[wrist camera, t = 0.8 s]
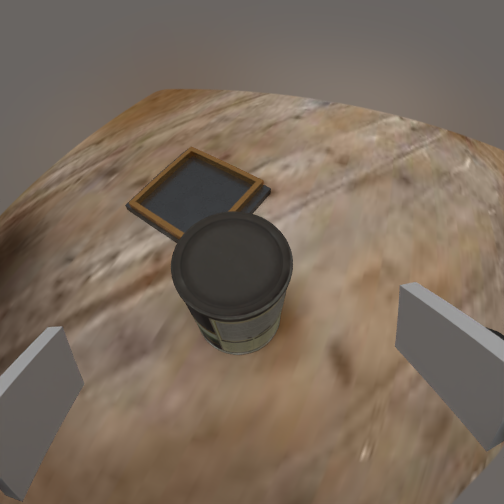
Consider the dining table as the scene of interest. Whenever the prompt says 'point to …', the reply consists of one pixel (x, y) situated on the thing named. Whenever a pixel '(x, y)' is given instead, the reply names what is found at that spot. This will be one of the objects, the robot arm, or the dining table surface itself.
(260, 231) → the coffee can
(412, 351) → the robot arm
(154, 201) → the mount plate
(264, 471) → the dining table surface
